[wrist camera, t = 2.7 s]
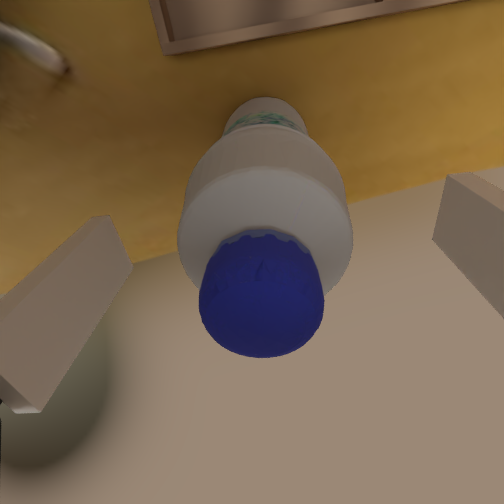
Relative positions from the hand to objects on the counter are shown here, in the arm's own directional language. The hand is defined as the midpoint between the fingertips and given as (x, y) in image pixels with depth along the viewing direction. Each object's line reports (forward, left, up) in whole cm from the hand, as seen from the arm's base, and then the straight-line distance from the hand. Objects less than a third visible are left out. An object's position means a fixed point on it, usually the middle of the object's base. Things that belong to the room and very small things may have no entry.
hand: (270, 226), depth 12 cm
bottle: (0, 0, -15) cm, 15 cm away
